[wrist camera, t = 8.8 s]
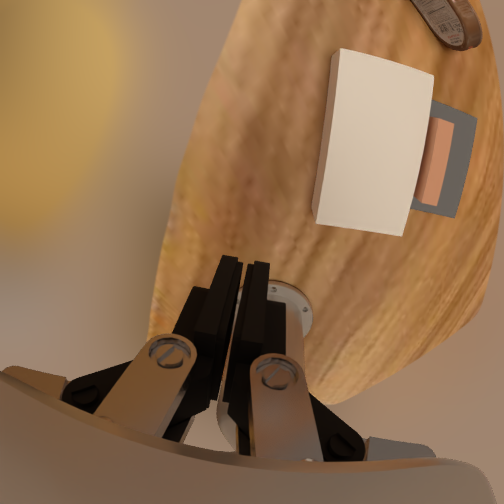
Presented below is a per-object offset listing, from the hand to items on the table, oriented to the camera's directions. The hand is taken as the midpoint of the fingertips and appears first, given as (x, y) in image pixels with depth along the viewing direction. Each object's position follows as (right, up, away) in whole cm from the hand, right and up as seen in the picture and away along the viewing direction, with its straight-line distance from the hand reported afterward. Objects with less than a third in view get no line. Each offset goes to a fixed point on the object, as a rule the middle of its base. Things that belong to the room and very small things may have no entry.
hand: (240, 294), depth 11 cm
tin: (+20, +31, +10) cm, 38 cm away
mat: (+23, +13, +19) cm, 32 cm away
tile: (+18, +12, +16) cm, 27 cm away
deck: (+13, +14, +19) cm, 27 cm away
